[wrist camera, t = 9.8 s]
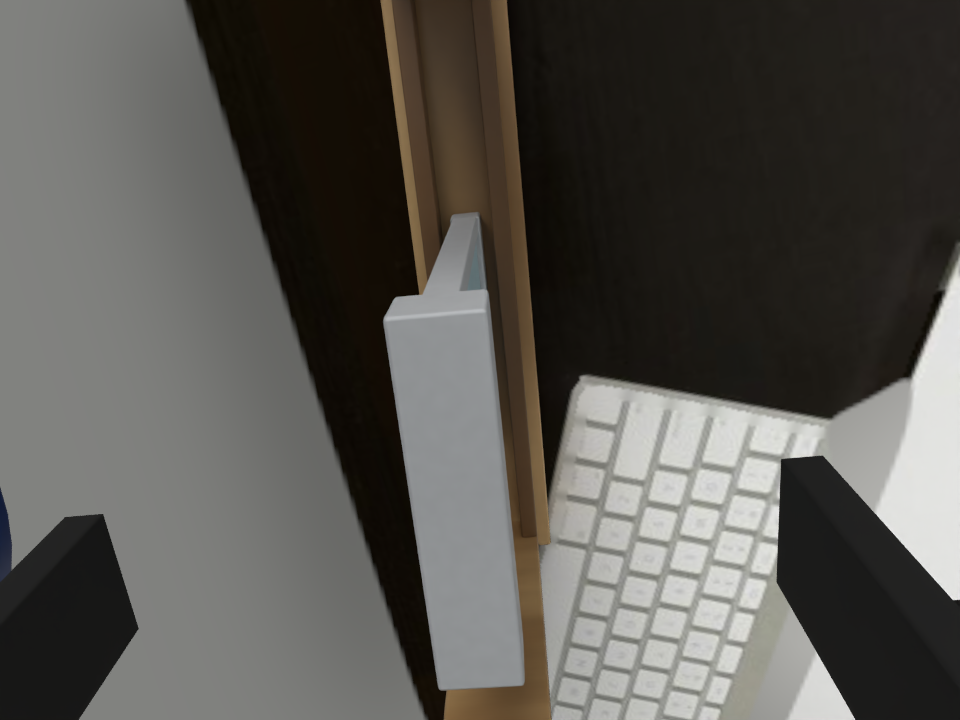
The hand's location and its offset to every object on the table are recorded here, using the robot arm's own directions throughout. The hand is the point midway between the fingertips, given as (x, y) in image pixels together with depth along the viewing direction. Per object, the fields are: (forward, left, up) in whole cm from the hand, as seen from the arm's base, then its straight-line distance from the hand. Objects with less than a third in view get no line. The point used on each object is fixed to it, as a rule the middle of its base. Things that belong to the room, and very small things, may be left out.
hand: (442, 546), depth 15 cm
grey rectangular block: (0, 0, -14) cm, 14 cm away
